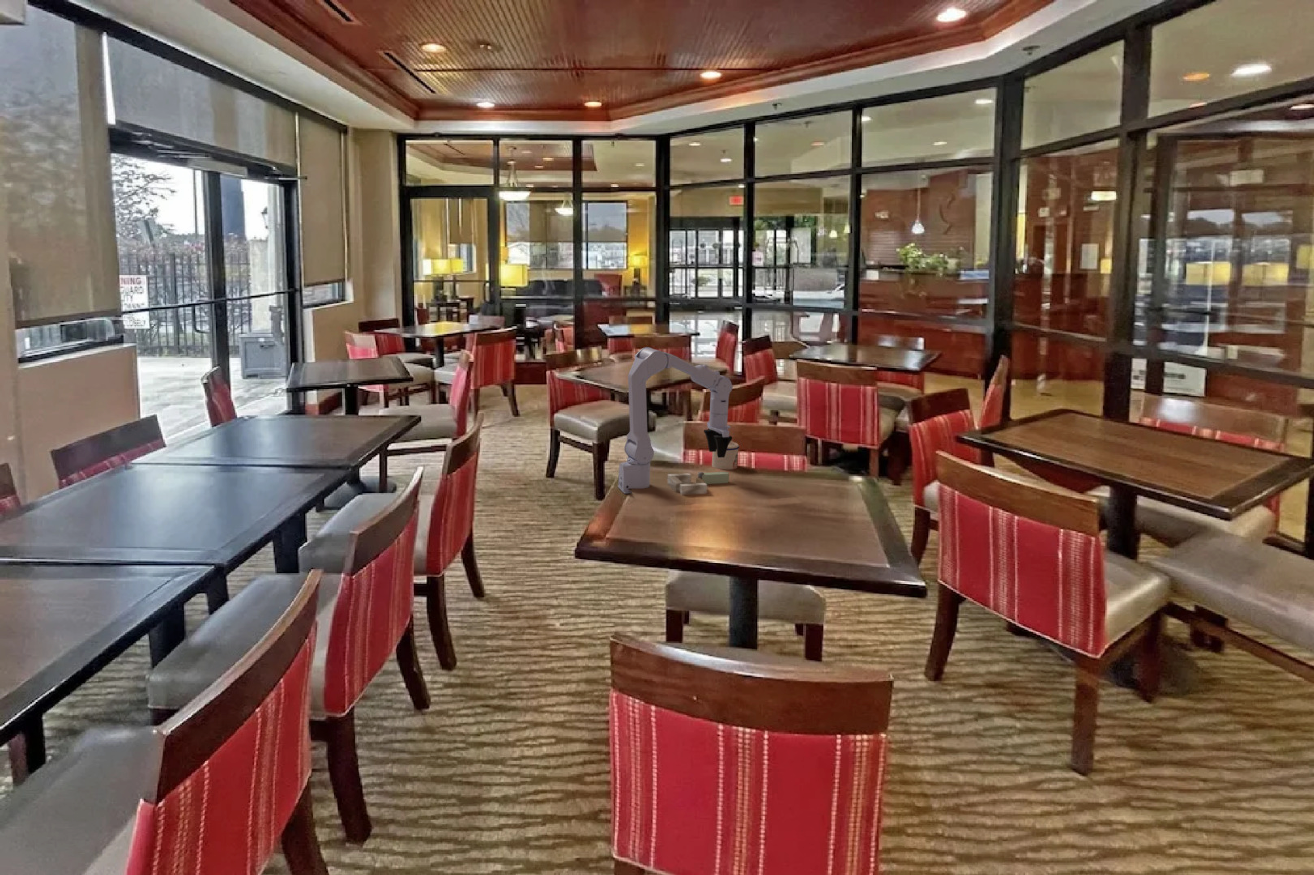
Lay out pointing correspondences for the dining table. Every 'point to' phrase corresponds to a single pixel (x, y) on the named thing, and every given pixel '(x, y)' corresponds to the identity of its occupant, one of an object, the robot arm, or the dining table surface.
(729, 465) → the teacup with lid
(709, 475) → the green rectangular block
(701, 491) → the cream shallow tray
